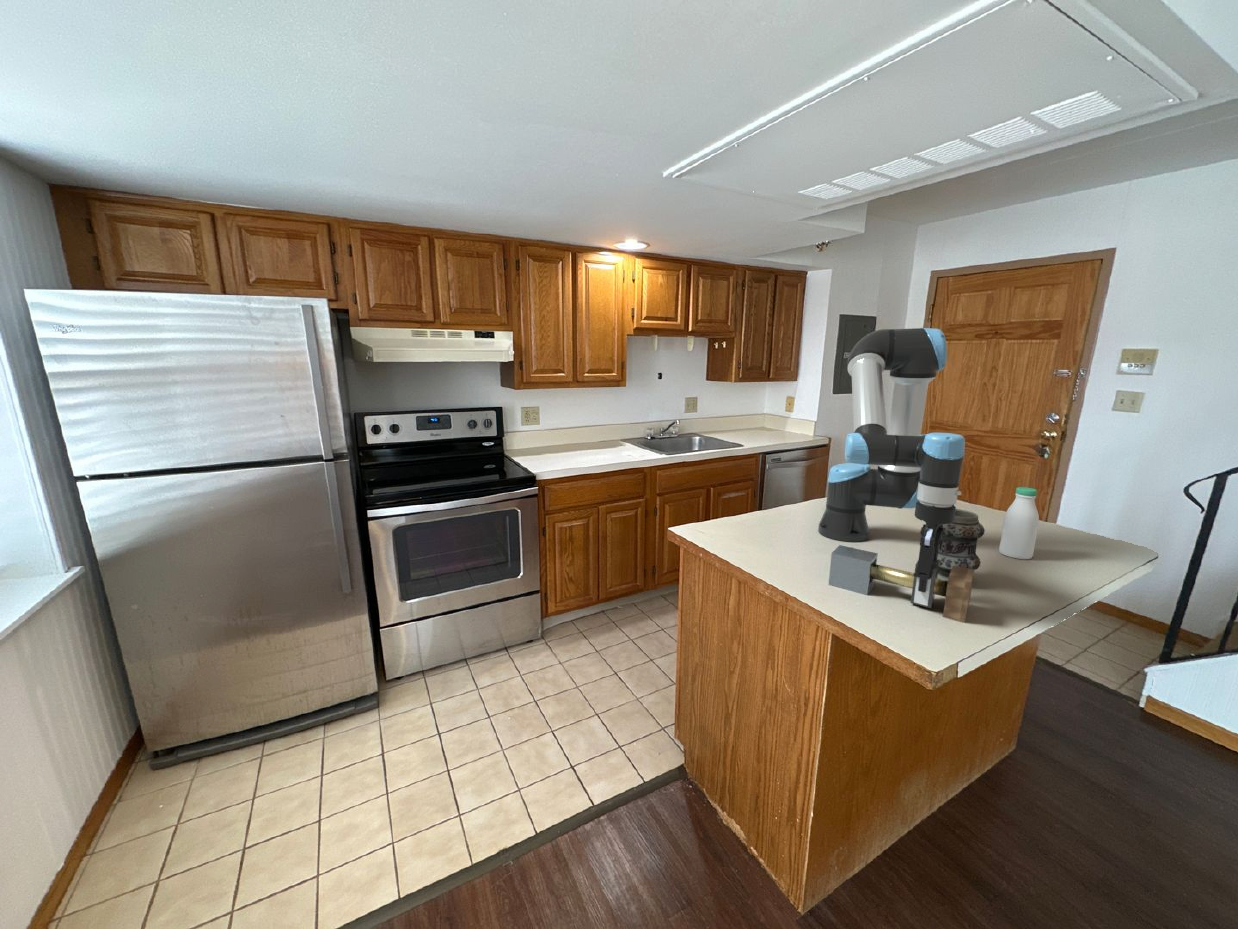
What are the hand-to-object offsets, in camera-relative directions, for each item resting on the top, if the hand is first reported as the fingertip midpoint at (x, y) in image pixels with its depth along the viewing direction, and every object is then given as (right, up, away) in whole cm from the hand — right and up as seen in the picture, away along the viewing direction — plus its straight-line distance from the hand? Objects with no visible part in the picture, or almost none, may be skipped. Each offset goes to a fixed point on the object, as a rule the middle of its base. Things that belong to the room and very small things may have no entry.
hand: (922, 598), depth 113 cm
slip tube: (-2, 0, +2) cm, 3 cm away
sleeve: (-12, +1, +10) cm, 16 cm away
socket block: (+5, -2, -4) cm, 7 cm away
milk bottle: (+45, +5, +29) cm, 53 cm away
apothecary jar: (+15, +1, +14) cm, 20 cm away
